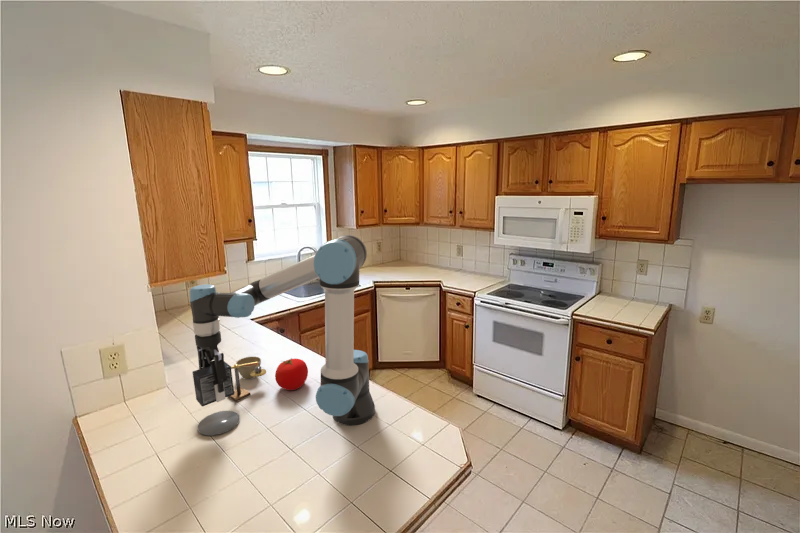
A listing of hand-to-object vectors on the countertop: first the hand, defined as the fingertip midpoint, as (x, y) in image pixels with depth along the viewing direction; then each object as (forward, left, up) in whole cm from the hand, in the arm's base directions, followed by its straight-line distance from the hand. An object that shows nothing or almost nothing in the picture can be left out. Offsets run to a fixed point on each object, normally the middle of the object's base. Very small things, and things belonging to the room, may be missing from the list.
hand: (215, 396), depth 128 cm
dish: (0, 0, -11) cm, 11 cm away
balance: (+12, -14, -11) cm, 21 cm away
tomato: (+1, -31, -11) cm, 33 cm away
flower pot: (+23, -25, -11) cm, 36 cm away
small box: (0, 0, -1) cm, 1 cm away
